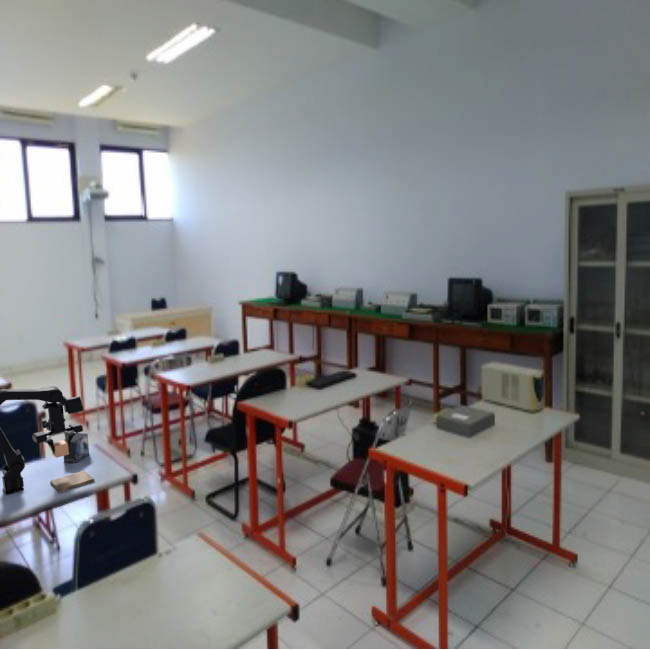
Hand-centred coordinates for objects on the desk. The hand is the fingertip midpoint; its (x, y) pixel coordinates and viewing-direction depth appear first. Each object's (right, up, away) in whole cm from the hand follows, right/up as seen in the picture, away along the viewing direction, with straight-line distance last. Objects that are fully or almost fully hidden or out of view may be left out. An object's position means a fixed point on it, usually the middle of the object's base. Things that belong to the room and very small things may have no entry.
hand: (60, 451), depth 237 cm
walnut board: (+6, -12, -3) cm, 14 cm away
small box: (-2, -8, +21) cm, 23 cm away
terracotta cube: (0, -1, 0) cm, 1 cm away
